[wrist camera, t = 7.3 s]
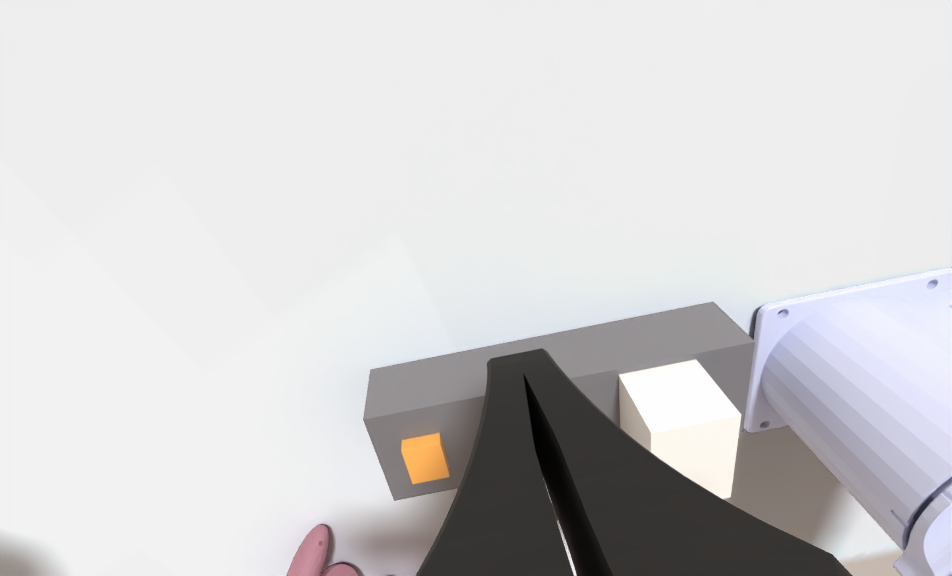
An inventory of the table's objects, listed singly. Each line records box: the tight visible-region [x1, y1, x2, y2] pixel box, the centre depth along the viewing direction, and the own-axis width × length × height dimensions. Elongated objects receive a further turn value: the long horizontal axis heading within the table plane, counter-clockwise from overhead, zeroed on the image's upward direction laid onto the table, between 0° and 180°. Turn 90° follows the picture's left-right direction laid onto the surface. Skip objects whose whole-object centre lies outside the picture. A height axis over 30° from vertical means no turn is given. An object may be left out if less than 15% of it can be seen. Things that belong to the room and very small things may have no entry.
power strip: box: [363, 302, 755, 521], centre depth 23 cm, size 16×12×6 cm
